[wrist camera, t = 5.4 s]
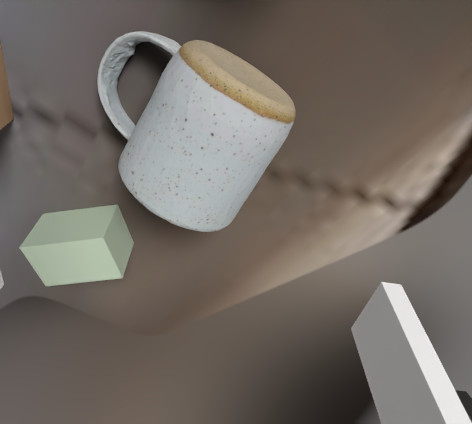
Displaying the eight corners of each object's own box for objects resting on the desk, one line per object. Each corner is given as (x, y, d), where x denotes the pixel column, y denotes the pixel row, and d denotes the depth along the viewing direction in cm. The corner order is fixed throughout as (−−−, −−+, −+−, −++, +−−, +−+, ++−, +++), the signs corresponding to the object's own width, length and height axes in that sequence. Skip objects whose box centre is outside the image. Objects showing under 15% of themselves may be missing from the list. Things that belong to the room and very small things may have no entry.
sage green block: (65, 250, 30) (45, 286, 27) (43, 212, 28) (19, 247, 25) (134, 242, 30) (122, 278, 26) (118, 203, 27) (103, 237, 24)
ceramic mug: (296, 84, 22) (319, 136, 16) (232, 183, 26) (230, 255, 20) (132, -16, 19) (81, 0, 13) (89, 114, 23) (35, 174, 17)
